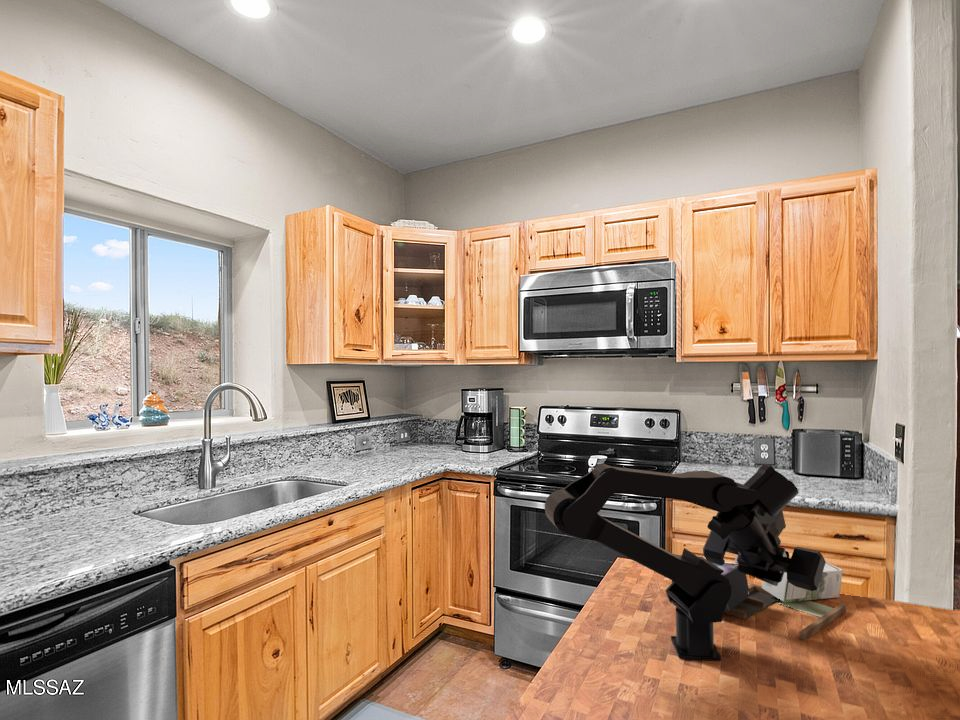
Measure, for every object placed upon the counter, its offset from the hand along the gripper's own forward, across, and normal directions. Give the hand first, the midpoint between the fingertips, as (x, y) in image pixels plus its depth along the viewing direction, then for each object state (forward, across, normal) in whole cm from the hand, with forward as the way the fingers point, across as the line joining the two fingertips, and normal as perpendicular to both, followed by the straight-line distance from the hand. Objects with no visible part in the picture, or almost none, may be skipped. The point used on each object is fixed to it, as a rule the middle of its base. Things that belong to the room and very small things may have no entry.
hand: (775, 583), depth 98 cm
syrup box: (+8, +4, -4) cm, 10 cm away
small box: (+1, +17, +4) cm, 17 cm away
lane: (+9, +2, +1) cm, 10 cm away
